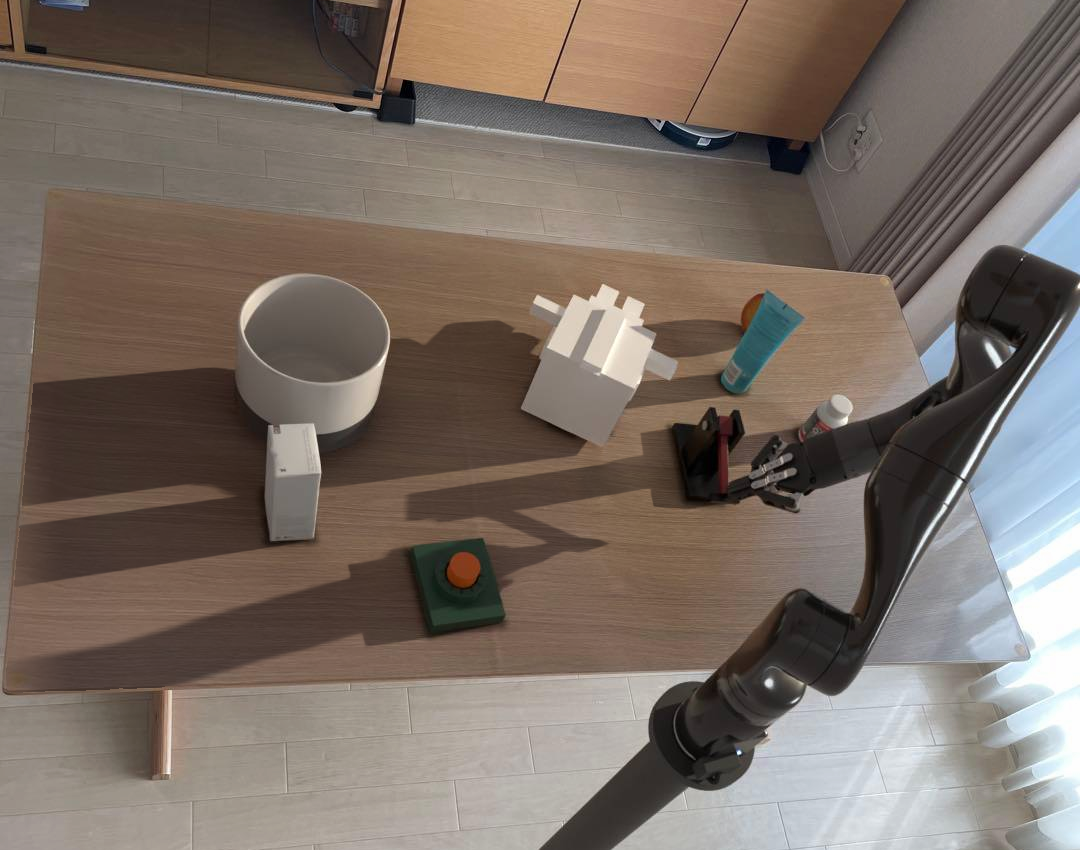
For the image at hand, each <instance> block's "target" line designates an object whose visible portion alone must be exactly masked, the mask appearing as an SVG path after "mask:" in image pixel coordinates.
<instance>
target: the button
mask: <svg viewBox="0 0 1080 850" xmlns="http://www.w3.org/2000/svg"><path fill="white" fill-rule="evenodd" d="M479 572H480V563H479V561H478V559H477V558H476V557H475V556H474V555H472V554H470V553H467V552H461V553H457V554H456V555H454V556H453V557H452V559H451V561H450V563H449V566H448V568H447V572H446V575H447V578H448V580H449V582H450V583H451V584H452V585H454V586H455V587H458V588H468V587H470V586H472V585H473V584H474V582H475V580H476V578H477V576H478V574H479Z"/></svg>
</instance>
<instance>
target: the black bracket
mask: <svg viewBox="0 0 1080 850" xmlns="http://www.w3.org/2000/svg"><path fill="white" fill-rule="evenodd" d="M718 416H719V415H718V412H717V408H716V407H715V406H709V407H708V408H707V410H706V411H705V413H704V415H703V416H702V417H701V419H700V420H699V422H698V424H691V423H683V422H682V423H681V422H674V423H673V425H672V426H671V427H670V428H671V433H672V438H673V442H674V448H675V452H676V457H677V463H678V468H679V472H680V476H681V481H682V486H683V491H684V495H685V500H686V501H687V502H700V503H709V494H710V493H712V492H714V493H719V459H718V438H716V437H717V436H718V434H719V433H720V431H721V429H720V425H719V421H718ZM728 416H729V417H732V423H733V435H731V436H729V437H728V438H727V441H728V457H729V456H730V455H731V453H732V452H733V451H734V449H735V448H736V447H737V446H738V445H739V443H740V441H741V440H742V439H743V437H744V436H745V435H746V431H745V427H744V423H743V418H742V415H741V411H740V409H733V410H732V411H731V412H730V414H729V415H728Z"/></svg>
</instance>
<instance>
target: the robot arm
mask: <svg viewBox="0 0 1080 850" xmlns="http://www.w3.org/2000/svg"><path fill="white" fill-rule="evenodd" d="M1079 310H1080V273H1078V272H1076V271H1074V270H1072V269H1069V268H1067V267H1064V266H1062V265H1060V264H1057V263H1055V262H1053V261H1050V260H1049V259H1045V258H1044V257H1041V256H1039V255H1035V254H1034V253H1032V252H1028V251H1026V250H1024V249H1021V248H1018V247H1016V246H1012V245H1008V244H997V245H995V246H992V247H991V248H989V249H988V250H987V251H986V252H985V253H984V254H983V255H982V256H981V257H980V259H979V260H978V261H977V262H976V264H975V265H974V266H973V268H972V270H971V272H970V273H969V275H968V276H967V278H966V280H965V283H964V285H963V287H962V289H961V291H960V294H959V296H958V299H957V304H956V309H955V318H954V319H955V323H954V358H953V361H952V365H951V366H950V367H951V368H950V370H949V373H948V375H946V376H945V377H943V378H942V379H939V380H938V381H936V382H935V383H934V384H932V385H930V387H928V388H927V389H925V390H924V391H922V392H921V393H919V394H918V395H917V396H915V397H913V398H912V399H910V400H909V401H906V402H905V403H902V404H901V405H898V407H895V408H893V409H890V410H888V411H885V412H882V413H880V414H877V415H874V416H871V417H868V418H864V419H862V420H856V421H852V422H849V423H847V424H846V425H843V426H840V427H837V428H835V429H832V430H829V431H826V432H823V433H820V434H818V435H815V436H812V437H809V438H807V439H805V440H804V441H803V442H801V441H800V442H790V443H788V442H786V441H784V440H782V439H781V437H780V436H779V435H778V434H774V435H772V436H771V437H770V438H769V440H768V441H767V442H766V443H765V445H764V446H763V447H762V448H761V450H760V451H759V452H758V453H757V455H756V456H755V457H754V458H753V460H751V462H750V466H751V467H750V472H749V473H748V474H747V475H744V476H741V477H739V478H736V479H733V480H731V481H729V485H727V486H726V491H727V495H728V497H729V498H730V499H731V500H735V501H740V502H741V501H744V500H746V499H749V498H752V497H758V498H759V499H760V501H761V502H762V503H763V504H764V505H765V506H769V507H772V508H775V509H778V510H782V511H785V512H789V513H792V514H795V515H796V514H799V513H800V512H801V509H802V508H801V507H800V505H801V503H802V501H803V499H804V497H807V496H810V495H811V494H812V493H813V492H814V491H817V490H819V489H820V490H821V489H826V488H829V487H832V486H835V485H838V484H841V483H843V482H847V481H851V480H853V479H857V478H860V477H862V476H865V475H867V474H869V476H868V477H867V480H866V482H865V485H864V490H863V491H864V492H863V527H864V529H863V530H864V544H865V547H864V548H865V549H864V550H865V551H864V552H865V558H864V559H865V560H864V570H863V577H862V582H861V585H860V589H859V592H858V594H857V597H856V599H855V602H854V604H853V606H852V608H851V610H850V611H847V610H845V609H843V608H841V607H840V606H838V605H836V604H834V603H832V602H831V601H829V600H827V599H825V598H823V597H822V596H820V595H818V594H816V593H815V592H813V591H811V590H809V589H807V588H804V587H798V588H794V589H792V590H790V591H789V592H787V593H786V594H784V596H783V597H781V599H780V600H779V601H778V602H777V603H776V604H775V606H773V608H772V609H771V611H770V612H768V614H767V615H766V616H765V618H763V620H762V621H761V622H760V623H759V624H758V625H757V627H756V628H754V630H753V631H752V632H751V633H750V634H749V635H748V637H747V638H746V639H745V640H744V641H743V642H742V644H741V645H740V646H739V647H738V648H737V650H735V651H734V652H733V653H732V654H731V655H730V656H729V657H728V658H727V659H726V660H725V661H724V662H723V663H722V664H721V665H720V666H719V667H718V668H717V669H716V670H715V671H713V673H712V674H711V675H710V676H709V677H708V678H707V679H706V680H705V681H703V682H704V683H703V684H702V685H701V686H700V687H697V688H695V689H694V690H693V691H692V692H694V691H695V692H694V693H693V694H692V695H691V696H690V697H689V698H688V699H687V700H686V701H684V702H683V703H682V704H681V705H680V706H679V707H678V708H677V709H676V711H675V713H674V715H673V718H672V733H673V737H674V740H675V742H676V744H677V746H678V748H679V749H680V750H681V752H682V753H683V754H684V755H685V756H686V757H687V758H689V759H690V760H691V761H693V762H694V764H693V765H692V768H693V771H694V774H695V777H696V779H697V780H701V779H706V780H707V781H708V782H709V783H711V784H712V785H717V784H718V783H719V782H720V780H721V777H722V775H723V774H727V773H731V772H733V771H734V770H735V769H737V768H738V767H739V766H741V765H742V764H741V761H740V759H739V758H741V757H742V756H743V755H745V754H746V753H747V752H748V751H750V750H751V749H752V748H754V747H755V748H756V746H758V745H759V744H760V743H761V742H762V741H764V740H765V739H767V738H768V736H769V733H768V729H769V728H770V727H771V726H773V725H774V724H776V722H778V721H779V720H781V718H783V717H784V716H786V714H788V713H789V712H790V711H792V710H794V708H796V707H797V706H798V705H799V703H800V702H801V701H802V700H803V698H804V696H805V694H806V691H807V687H809V688H811V689H812V690H814V691H816V692H818V693H820V694H823V695H825V696H827V697H837V696H839V695H841V694H843V692H845V691H846V690H847V689H848V688H849V687H850V686H851V685H852V684H853V682H854V681H855V680H856V679H857V678H858V675H859V674H860V672H861V670H862V669H863V667H864V666H865V664H866V663H867V660H868V659H869V656H870V655H871V653H872V651H873V650H874V648H875V646H876V644H877V641H878V640H879V638H880V636H881V634H882V632H883V631H884V628H885V626H886V624H887V622H888V620H889V618H890V616H891V614H892V612H893V610H894V609H895V607H896V605H897V602H898V601H899V599H900V597H901V595H902V593H903V591H904V589H905V587H906V585H907V584H908V582H909V580H910V579H911V577H912V575H913V573H914V571H915V570H916V569H917V567H918V565H919V563H920V562H921V560H922V558H923V557H924V556H925V554H926V552H927V551H928V549H929V547H930V546H931V544H932V543H933V541H934V540H935V538H936V536H937V535H938V534H939V532H940V530H941V529H942V527H943V526H944V525H945V522H947V520H948V518H949V517H950V515H951V514H952V512H953V510H954V509H955V507H956V506H957V504H958V502H959V501H960V500H961V498H962V496H963V495H964V493H965V492H966V489H967V488H968V485H969V484H970V483H971V481H972V479H973V478H974V476H975V474H976V473H977V470H978V469H979V467H980V465H981V463H982V462H983V460H984V458H985V456H986V455H987V452H988V450H989V449H990V447H991V446H992V444H993V442H994V441H995V439H996V437H997V436H999V433H1000V432H1001V429H1002V426H1003V424H1004V423H1005V421H1006V420H1007V418H1008V416H1009V415H1010V414H1011V412H1012V410H1013V409H1014V407H1015V406H1016V404H1017V402H1018V401H1019V400H1020V399H1021V397H1022V395H1023V394H1024V392H1025V391H1026V389H1027V388H1028V387H1029V385H1030V384H1031V382H1032V380H1033V379H1034V378H1035V377H1036V375H1037V374H1038V372H1039V371H1040V369H1041V367H1043V365H1044V363H1045V362H1046V361H1047V359H1048V357H1049V356H1050V354H1051V353H1052V352H1053V350H1054V349H1055V347H1056V346H1057V344H1058V343H1059V342H1060V340H1061V339H1062V337H1063V335H1064V334H1065V332H1066V331H1067V330H1068V328H1069V326H1070V325H1071V323H1072V322H1073V320H1074V318H1075V317H1076V316H1077V314H1078V311H1079ZM1011 348H1013V349H1014V351H1013V353H1012V350H1011ZM783 492H784V493H787V494H786V495H782V494H779V493H783ZM692 692H691V693H692ZM714 776H715V778H713V777H714Z"/></svg>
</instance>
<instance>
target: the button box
mask: <svg viewBox="0 0 1080 850" xmlns="http://www.w3.org/2000/svg"><path fill="white" fill-rule="evenodd" d="M485 543H486V542H485V539H484V538H483V537H479V538H470V539H469V538H468V539H459V540H452V541H451V540H450V541H442V542H434V543H433V542H432V543H425V544H424V543H423V544H416V545H414V544H413V545H412V546H411V550H410V552H409V556H410V560H411V563H412V567H413V571H414V575H415V580H416V583H417V588H418V591H419V595H420V599H421V603H422V607H423V611H424V616H425V619H426V623H427V627H428V630H429V633H430V634H432V633H440V632H446V631H453V630H459V629H467V628H474V627H479V626H480V627H481V626H487V625H495V624H501V623H503V622H504V619H505V618H506V615H507V614H506V610H505V608H504V604H503V600H502V597H501V594H500V590H499V586H498V584H497V580H496V577H495V574H494V569H493V567H492V563H491V561H490V557H489V553H488V550H487V547H486V544H485ZM461 552H467V553H470V554H472V555H474V556H475V557H476V558H477V559H478V561H479V563H480V572H479V574H478V576H477V578H476V580H475V582H474V584H473V585H472V586H470V587H468V588H458V587H455V586H454V585H452V584H451V583H450V582H449V580H448V578H447V575H446V572H447V568H448V566H449V563H450V561H451V559H452V557H453V556H454V555H456V554H457V553H461Z"/></svg>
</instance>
